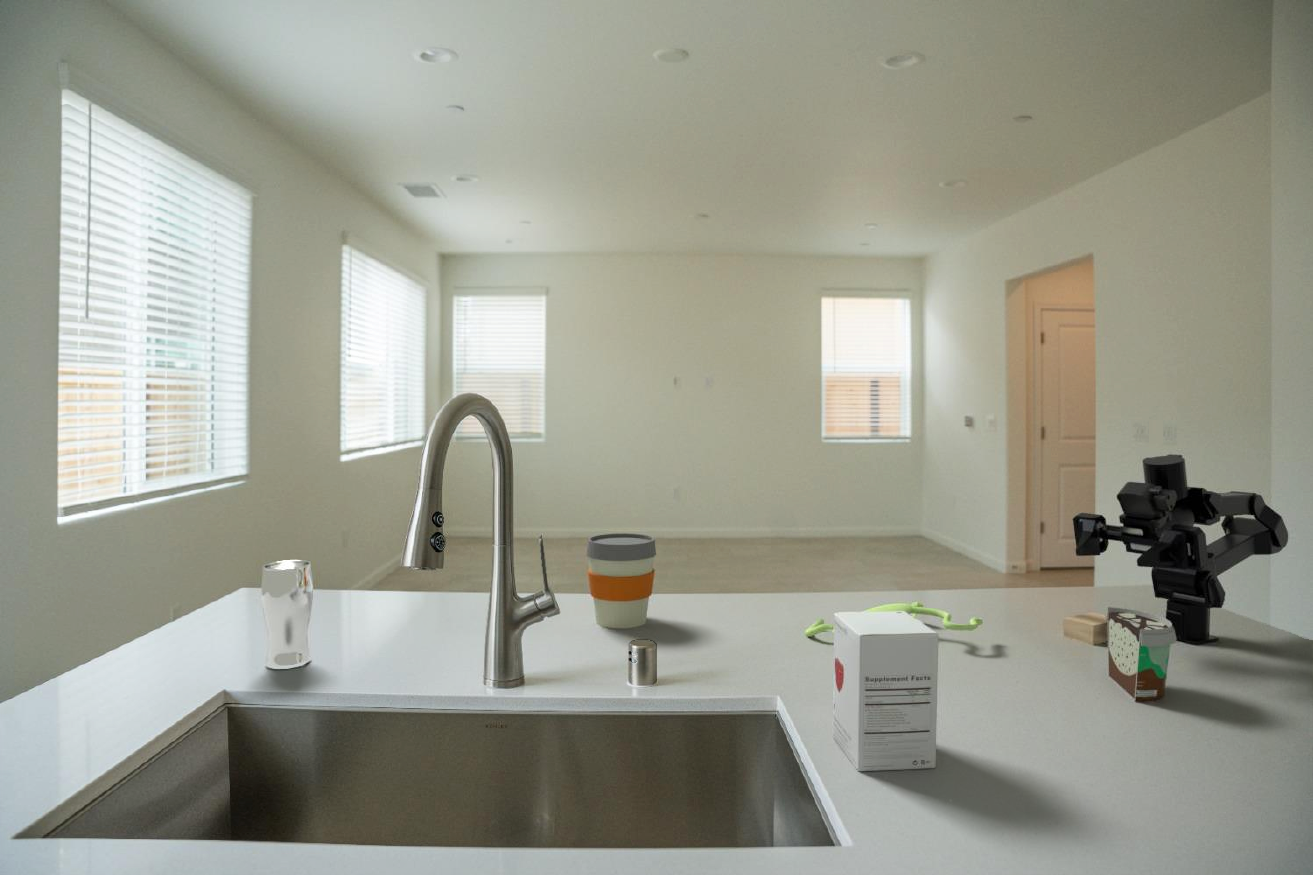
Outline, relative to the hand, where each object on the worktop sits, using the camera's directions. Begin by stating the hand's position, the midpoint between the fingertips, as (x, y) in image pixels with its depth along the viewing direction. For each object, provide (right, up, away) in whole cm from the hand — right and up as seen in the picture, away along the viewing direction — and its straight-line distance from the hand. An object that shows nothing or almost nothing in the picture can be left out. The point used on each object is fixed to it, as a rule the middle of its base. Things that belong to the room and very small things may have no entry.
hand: (1106, 557), depth 115 cm
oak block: (+5, -16, +13) cm, 21 cm away
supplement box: (-43, -17, -30) cm, 55 cm away
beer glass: (-124, -16, -1) cm, 125 cm away
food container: (-1, -17, -11) cm, 20 cm away
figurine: (-29, -16, +12) cm, 35 cm away
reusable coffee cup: (-75, -15, +22) cm, 79 cm away
